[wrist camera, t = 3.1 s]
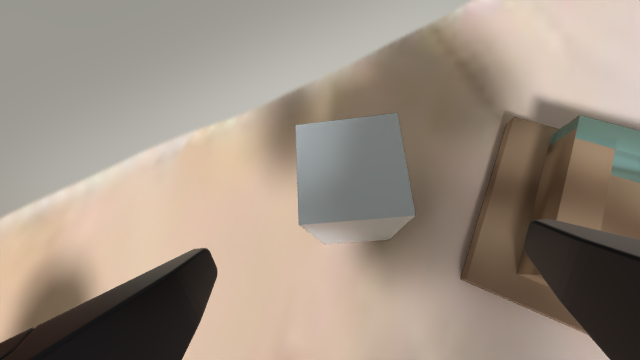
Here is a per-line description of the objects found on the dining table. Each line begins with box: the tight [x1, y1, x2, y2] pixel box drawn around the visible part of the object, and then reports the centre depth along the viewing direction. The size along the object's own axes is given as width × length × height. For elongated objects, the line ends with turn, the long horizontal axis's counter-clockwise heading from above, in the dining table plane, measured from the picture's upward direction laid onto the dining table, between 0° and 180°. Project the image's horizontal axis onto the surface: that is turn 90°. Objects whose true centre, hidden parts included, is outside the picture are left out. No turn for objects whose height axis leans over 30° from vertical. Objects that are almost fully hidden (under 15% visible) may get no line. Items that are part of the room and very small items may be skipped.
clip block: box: [295, 113, 416, 244], centre depth 15 cm, size 4×4×9 cm
